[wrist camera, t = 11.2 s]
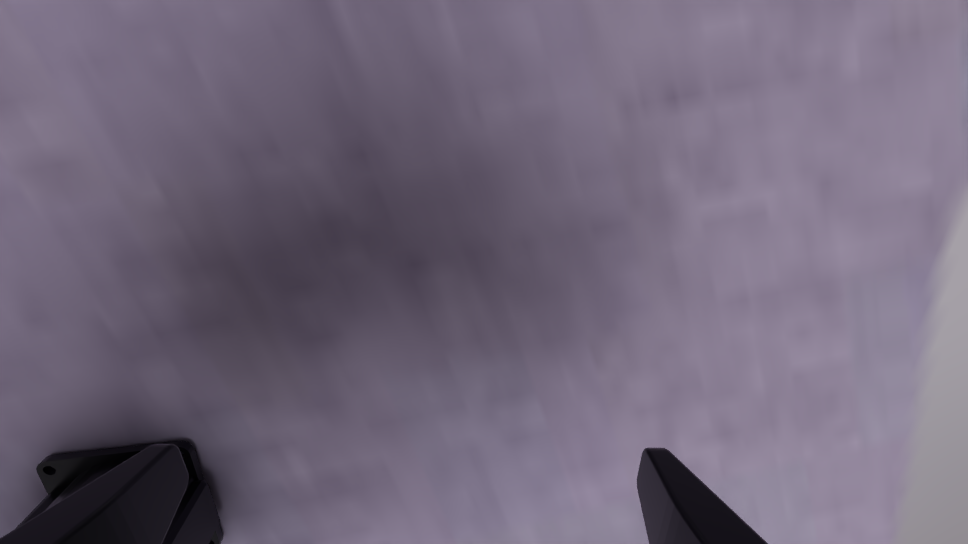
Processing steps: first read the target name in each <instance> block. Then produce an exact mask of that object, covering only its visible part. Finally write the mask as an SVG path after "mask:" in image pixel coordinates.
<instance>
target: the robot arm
mask: <svg viewBox="0 0 968 544" xmlns="http://www.w3.org/2000/svg"><path fill="white" fill-rule="evenodd" d="M180 451H181V452H183V453H184V454H181V452H180ZM37 473H38V475H39V477H40V479H41V481H42V483H43V485H44V487H45V489H46V491H47V493H48V496H47V497H46V498H45V499H44V500H43V501H42V502H41V503H40V504H39V505H38V506H37V507H36V508H35V509H34V510H33V511H32V512H31V513H30V514H29V515H28V516H27V517H26V518H25V519H24V520H23V521H22V522H21V523H20V525H19V526H18V527H17V528H16V529H15V530H13V531H12V532H10V533H8V534H7V535H5V536H4V537H2V538H0V544H220V543H221V541H222V539H223V535H222V532H221V528H220V525H219V522H220V519H219V516H218V513H217V510H216V507H215V504H214V501H213V498H212V495H211V492H210V489H209V486H208V484H207V482H206V481H205V480H204V477H203V474H202V471H201V468H200V465H199V461H198V458H197V455H196V452H195V449H194V447H193V446H192V444H190V443H189V442H186V441H174V442H165V443H156V444H147V445H139V446H130V447H121V448H112V449H103V450H94V451H85V452H77V453H68V454H59V455H51V456H48V457H46V458H45V459H44V460H43V461H42V462H41V463H40V464H39V465H38V466H37ZM637 489H638V494H639V499H640V503H641V508H642V512H643V517H644V521H645V526H646V531H647V535H648V540H649V544H768V543H767V542H766V541H765V540H763V539H762V538H761V537H760V536H759V535H758V534H757V533H756V532H755V531H754V530H753V529H752V528H751V527H750V526H749V525H747V524H746V523H745V522H744V521H743V520H742V519H741V518H740V517H739V516H738V515H737V514H736V513H735V512H734V511H733V510H732V509H730V508H729V507H728V506H727V505H726V504H725V503H724V502H723V501H722V500H721V499H720V498H719V497H718V496H717V495H716V494H715V493H713V492H712V491H711V490H710V489H709V488H708V487H707V486H706V485H705V484H704V483H703V482H702V481H701V480H700V479H699V478H698V477H696V476H695V475H694V474H693V473H692V472H691V471H690V470H689V469H688V468H687V467H686V466H685V465H684V464H683V463H682V462H680V461H679V460H678V459H677V458H676V457H675V456H674V455H673V454H672V453H671V452H670V451H669V450H667V449H665V448H645V449H644V450H643V452H642V457H641V461H640V466H639V471H638V476H637Z"/></svg>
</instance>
